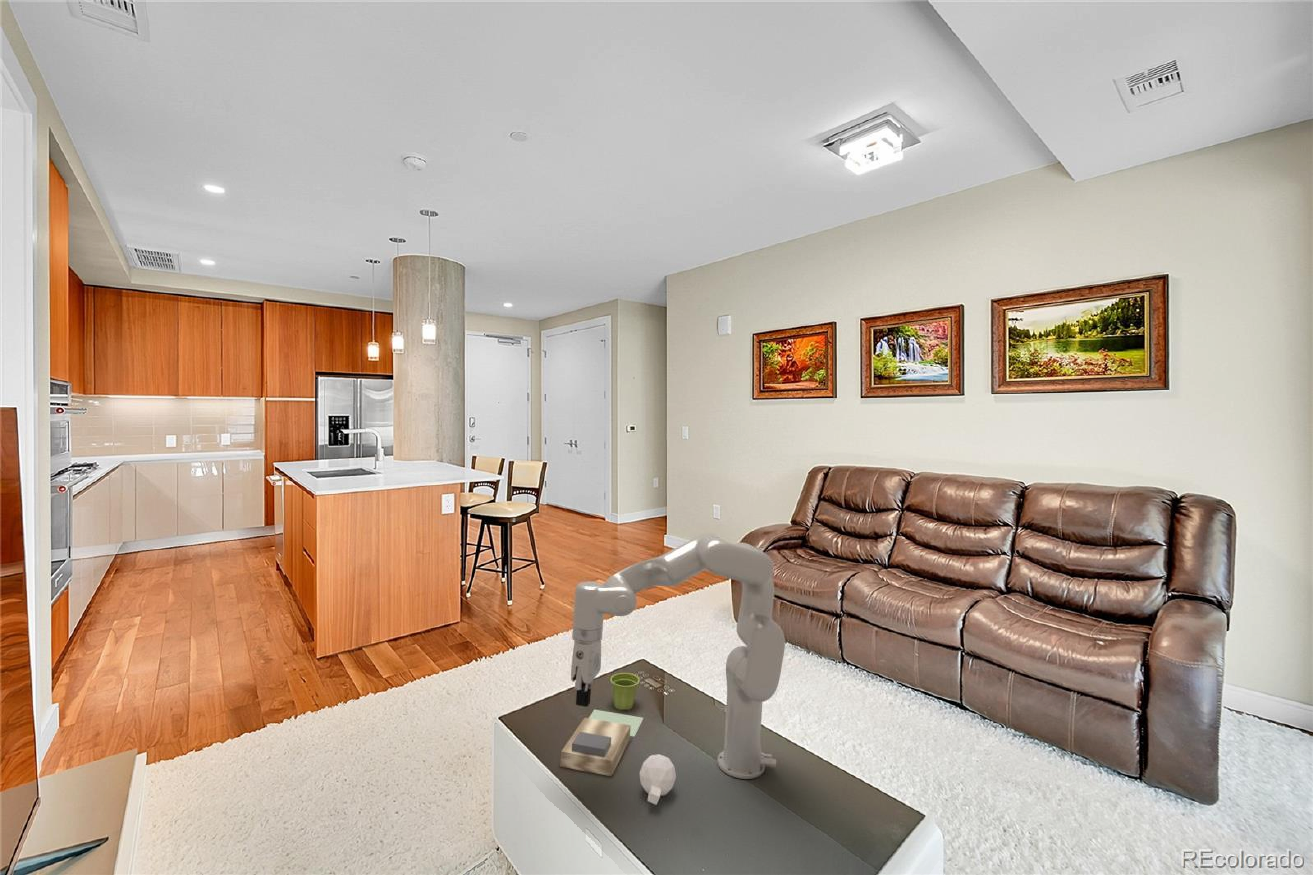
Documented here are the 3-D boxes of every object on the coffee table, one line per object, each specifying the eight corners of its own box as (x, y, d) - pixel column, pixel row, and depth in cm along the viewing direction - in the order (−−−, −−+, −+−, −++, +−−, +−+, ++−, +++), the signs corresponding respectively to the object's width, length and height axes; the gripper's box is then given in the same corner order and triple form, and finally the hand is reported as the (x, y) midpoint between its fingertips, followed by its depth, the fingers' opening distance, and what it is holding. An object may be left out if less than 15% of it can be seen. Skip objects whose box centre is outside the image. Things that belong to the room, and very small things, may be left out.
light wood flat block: (629, 739, 162) (630, 725, 162) (611, 776, 144) (612, 761, 144) (584, 731, 165) (584, 717, 165) (560, 766, 147) (561, 751, 147)
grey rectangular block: (611, 744, 151) (611, 737, 151) (604, 757, 146) (604, 749, 145) (579, 738, 153) (579, 731, 153) (571, 751, 147) (571, 743, 147)
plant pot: (643, 704, 182) (645, 678, 182) (627, 716, 174) (628, 688, 174) (620, 696, 187) (621, 670, 187) (603, 707, 179) (604, 680, 179)
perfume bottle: (637, 770, 144) (630, 806, 132) (650, 740, 143) (643, 774, 131) (669, 783, 144) (664, 821, 132) (681, 753, 142) (678, 789, 130)
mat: (643, 718, 173) (643, 717, 173) (634, 737, 163) (634, 736, 163) (594, 710, 177) (594, 709, 177) (582, 728, 166) (582, 727, 166)
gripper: (591, 645, 133) (586, 721, 133) (610, 624, 147) (606, 693, 148) (562, 640, 135) (557, 716, 135) (583, 620, 149) (579, 689, 149)
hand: (582, 704), depth 141 cm, fingers closed
